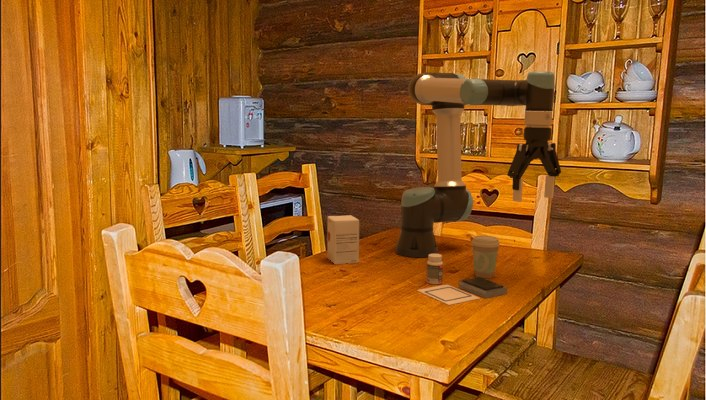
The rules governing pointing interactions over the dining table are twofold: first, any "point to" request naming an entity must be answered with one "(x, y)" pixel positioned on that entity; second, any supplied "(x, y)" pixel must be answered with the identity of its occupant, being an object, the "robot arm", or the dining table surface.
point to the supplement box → (343, 239)
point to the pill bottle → (434, 269)
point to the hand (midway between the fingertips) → (533, 199)
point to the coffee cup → (485, 255)
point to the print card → (448, 294)
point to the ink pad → (483, 287)
